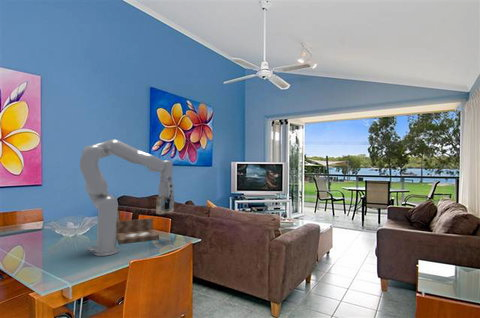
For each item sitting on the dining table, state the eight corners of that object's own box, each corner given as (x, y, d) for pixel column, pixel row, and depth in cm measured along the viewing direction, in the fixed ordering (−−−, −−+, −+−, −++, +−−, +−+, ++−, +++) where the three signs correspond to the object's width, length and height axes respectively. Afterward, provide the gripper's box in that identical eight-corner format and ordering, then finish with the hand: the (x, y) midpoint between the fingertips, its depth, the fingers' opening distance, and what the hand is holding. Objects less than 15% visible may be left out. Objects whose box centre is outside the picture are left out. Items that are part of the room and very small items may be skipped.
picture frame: (159, 214, 165) (160, 197, 165) (154, 213, 168) (155, 197, 168) (174, 211, 175) (175, 196, 175) (169, 211, 177) (169, 195, 178)
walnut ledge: (119, 244, 164) (119, 227, 164) (115, 237, 181) (116, 221, 182) (159, 239, 176) (159, 223, 177) (152, 232, 193) (152, 218, 194)
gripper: (179, 179, 170) (178, 209, 169) (162, 179, 179) (161, 206, 179) (170, 180, 164) (169, 210, 163) (153, 179, 173) (152, 208, 172)
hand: (165, 208), depth 171 cm, fingers closed on picture frame, 2 cm apart
